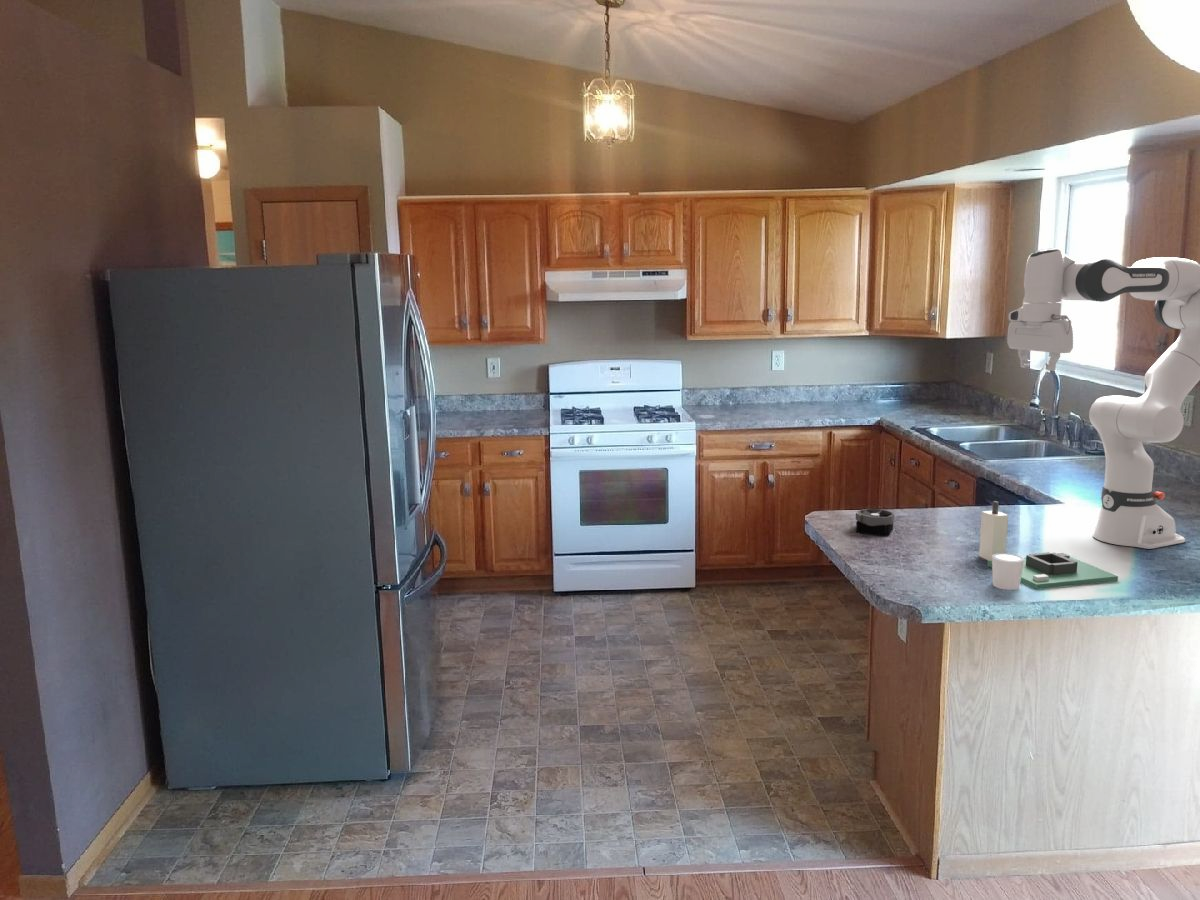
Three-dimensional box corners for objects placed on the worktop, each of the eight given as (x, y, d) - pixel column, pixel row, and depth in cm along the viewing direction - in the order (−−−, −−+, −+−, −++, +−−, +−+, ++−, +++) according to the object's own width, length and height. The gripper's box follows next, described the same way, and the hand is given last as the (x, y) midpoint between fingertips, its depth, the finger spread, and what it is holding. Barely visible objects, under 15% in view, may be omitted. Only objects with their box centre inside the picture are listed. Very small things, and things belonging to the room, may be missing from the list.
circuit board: (1063, 558, 226) (1064, 544, 225) (1117, 581, 208) (1119, 566, 208) (987, 565, 221) (988, 551, 220) (1036, 589, 204) (1037, 574, 203)
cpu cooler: (896, 509, 255) (891, 518, 246) (895, 529, 256) (890, 538, 247) (860, 506, 259) (853, 514, 250) (859, 525, 260) (852, 534, 251)
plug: (992, 554, 230) (996, 499, 227) (1005, 560, 225) (1009, 503, 222) (979, 556, 229) (982, 500, 226) (991, 561, 224) (995, 504, 221)
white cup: (985, 586, 207) (987, 557, 205) (997, 578, 211) (998, 550, 210) (1015, 592, 202) (1017, 563, 200) (1026, 585, 206) (1028, 556, 205)
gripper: (1082, 314, 214) (1077, 371, 216) (1025, 312, 233) (1021, 365, 236) (1059, 315, 212) (1055, 372, 215) (1004, 313, 232) (1001, 366, 234)
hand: (1037, 368), depth 225 cm, fingers open, 8 cm apart
